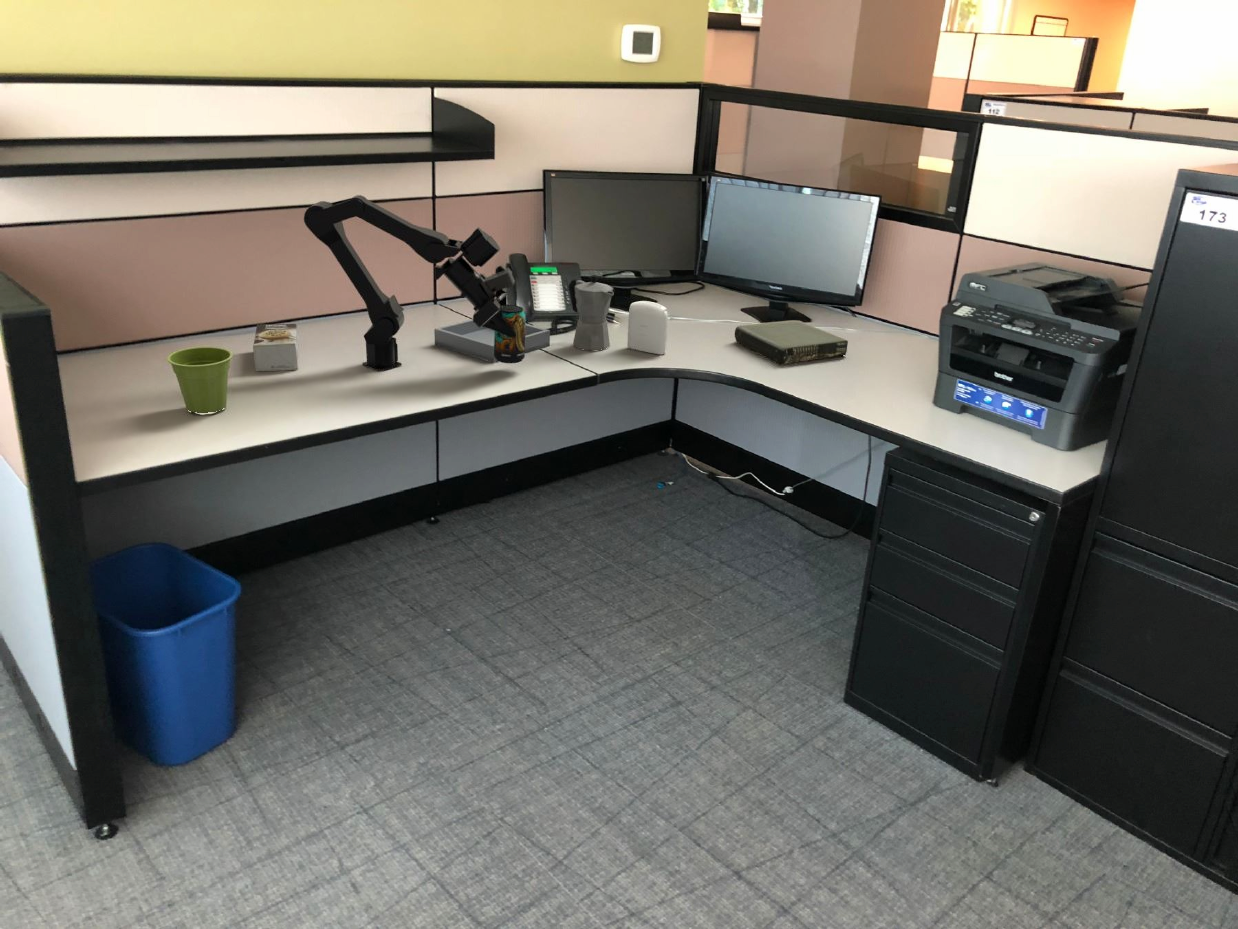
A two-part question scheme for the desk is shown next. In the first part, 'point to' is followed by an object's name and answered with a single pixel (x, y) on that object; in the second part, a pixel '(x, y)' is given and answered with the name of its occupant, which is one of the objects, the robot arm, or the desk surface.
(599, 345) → the coffeepot
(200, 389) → the plant pot
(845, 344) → the network switch
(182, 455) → the desk surface
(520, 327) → the beverage can
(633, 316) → the photo printer
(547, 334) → the bin
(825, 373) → the desk surface
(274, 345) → the coffee box
